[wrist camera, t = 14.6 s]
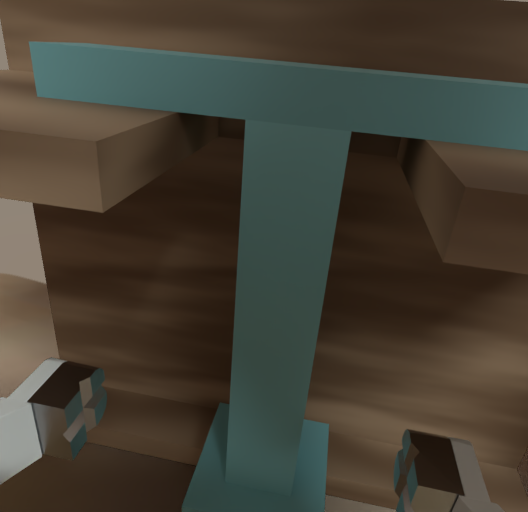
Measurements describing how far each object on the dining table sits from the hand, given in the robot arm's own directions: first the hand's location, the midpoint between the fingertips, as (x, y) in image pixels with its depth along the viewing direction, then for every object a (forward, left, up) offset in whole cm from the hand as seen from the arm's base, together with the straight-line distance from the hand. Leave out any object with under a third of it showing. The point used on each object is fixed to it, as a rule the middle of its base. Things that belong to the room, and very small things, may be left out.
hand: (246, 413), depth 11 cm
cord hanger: (-4, -4, -10) cm, 12 cm away
